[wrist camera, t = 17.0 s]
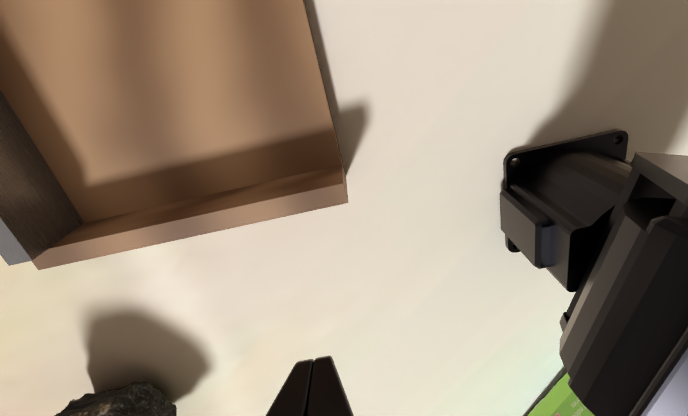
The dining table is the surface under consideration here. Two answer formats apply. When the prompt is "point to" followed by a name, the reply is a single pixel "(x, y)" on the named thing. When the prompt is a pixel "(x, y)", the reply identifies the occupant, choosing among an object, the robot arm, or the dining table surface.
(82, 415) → the rock
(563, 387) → the toothbrush box
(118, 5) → the shelf
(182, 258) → the dining table surface
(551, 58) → the dining table surface
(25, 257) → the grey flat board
